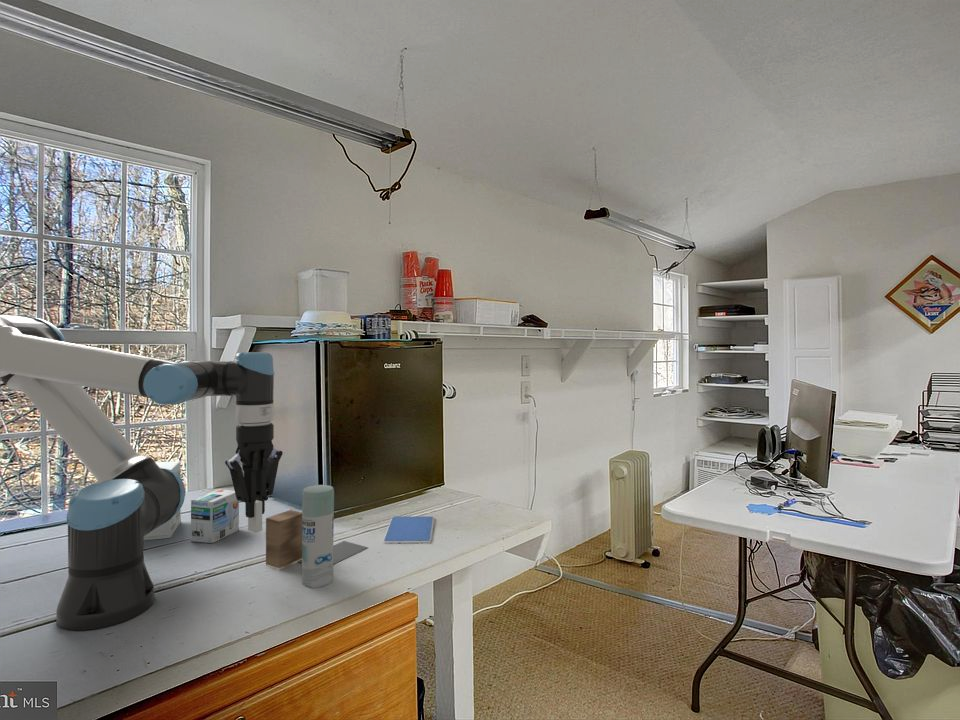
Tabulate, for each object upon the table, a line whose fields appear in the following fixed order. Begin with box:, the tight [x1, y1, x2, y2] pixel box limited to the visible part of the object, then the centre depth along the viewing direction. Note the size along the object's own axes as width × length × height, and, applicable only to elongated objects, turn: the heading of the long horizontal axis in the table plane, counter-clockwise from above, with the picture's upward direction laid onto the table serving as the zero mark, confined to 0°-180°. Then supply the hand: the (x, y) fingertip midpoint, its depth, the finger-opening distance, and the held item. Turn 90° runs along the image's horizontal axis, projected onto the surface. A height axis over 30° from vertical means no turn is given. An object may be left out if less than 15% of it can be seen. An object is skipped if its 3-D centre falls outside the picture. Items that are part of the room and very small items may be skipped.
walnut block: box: [265, 509, 302, 571], centre depth 122 cm, size 7×4×11 cm, turn 150°
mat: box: [297, 540, 369, 566], centre depth 126 cm, size 15×8×1 cm, turn 150°
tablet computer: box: [382, 515, 435, 545], centre depth 144 cm, size 19×13×1 cm, turn 2°
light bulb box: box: [190, 489, 240, 544], centre depth 138 cm, size 11×7×11 cm, turn 168°
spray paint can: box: [301, 484, 335, 589], centre depth 112 cm, size 6×6×20 cm
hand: (255, 530), depth 114 cm, fingers closed
